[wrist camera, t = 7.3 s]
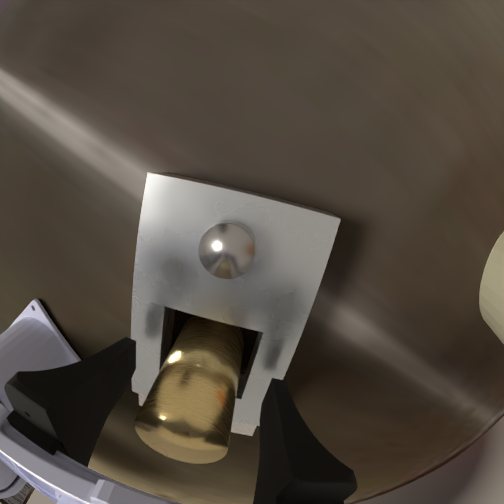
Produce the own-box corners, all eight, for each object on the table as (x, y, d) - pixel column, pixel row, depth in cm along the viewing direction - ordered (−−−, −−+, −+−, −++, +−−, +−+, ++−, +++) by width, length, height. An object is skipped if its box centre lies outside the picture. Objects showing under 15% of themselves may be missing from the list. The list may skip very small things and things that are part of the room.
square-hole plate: (253, 424, 19) (250, 456, 16) (144, 395, 19) (129, 423, 16) (329, 212, 14) (346, 222, 11) (166, 172, 14) (139, 172, 11)
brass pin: (205, 371, 17) (176, 466, 10) (169, 327, 17) (116, 418, 9) (256, 350, 17) (246, 455, 9) (220, 301, 16) (184, 401, 8)
